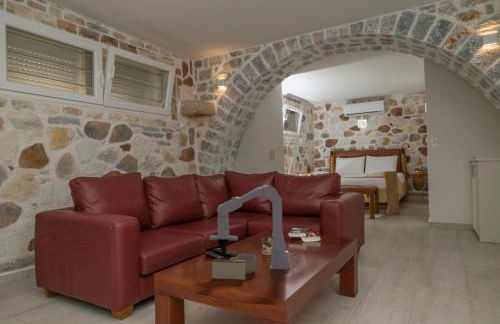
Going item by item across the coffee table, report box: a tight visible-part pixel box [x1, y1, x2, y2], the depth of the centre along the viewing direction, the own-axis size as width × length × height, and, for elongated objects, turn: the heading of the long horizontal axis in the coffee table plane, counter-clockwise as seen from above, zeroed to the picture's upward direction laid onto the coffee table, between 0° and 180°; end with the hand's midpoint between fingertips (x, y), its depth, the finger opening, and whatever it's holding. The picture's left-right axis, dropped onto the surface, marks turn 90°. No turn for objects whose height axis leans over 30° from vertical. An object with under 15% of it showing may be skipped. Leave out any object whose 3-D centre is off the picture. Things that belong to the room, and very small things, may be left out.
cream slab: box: [211, 258, 246, 280], centre depth 160 cm, size 16×2×9 cm, turn 79°
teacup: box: [228, 253, 258, 275], centre depth 169 cm, size 14×11×8 cm
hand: (223, 254), depth 171 cm, fingers closed
